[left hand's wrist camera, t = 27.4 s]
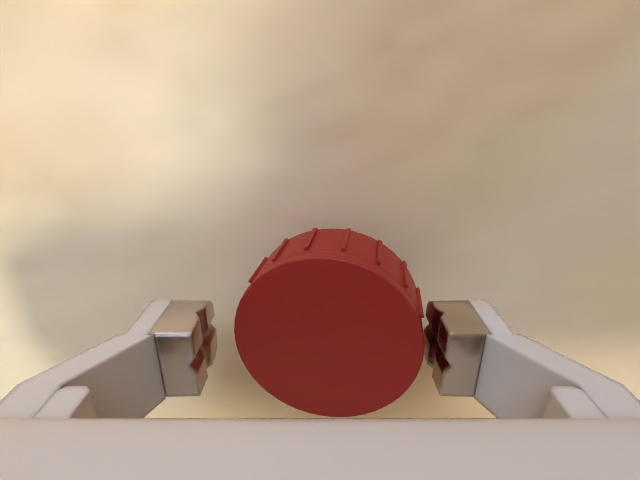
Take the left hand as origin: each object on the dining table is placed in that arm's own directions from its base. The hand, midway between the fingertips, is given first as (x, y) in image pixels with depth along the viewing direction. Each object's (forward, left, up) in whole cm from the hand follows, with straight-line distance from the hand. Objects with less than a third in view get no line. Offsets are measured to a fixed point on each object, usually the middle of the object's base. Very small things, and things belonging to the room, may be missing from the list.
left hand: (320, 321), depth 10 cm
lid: (0, 0, +1) cm, 1 cm away
